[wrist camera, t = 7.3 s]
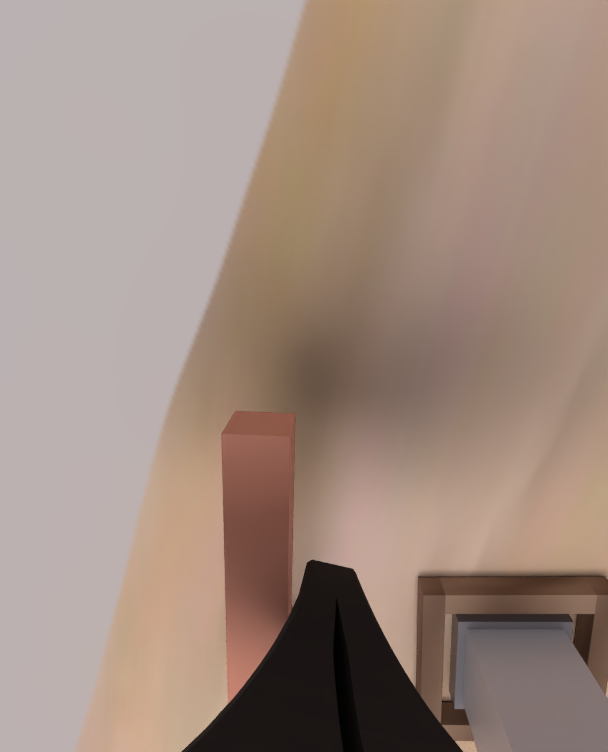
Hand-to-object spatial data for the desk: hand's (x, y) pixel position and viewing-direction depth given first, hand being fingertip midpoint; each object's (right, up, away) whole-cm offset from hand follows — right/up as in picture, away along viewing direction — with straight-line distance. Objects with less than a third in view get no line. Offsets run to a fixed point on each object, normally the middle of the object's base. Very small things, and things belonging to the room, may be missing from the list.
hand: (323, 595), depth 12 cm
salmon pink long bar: (-2, -3, +2) cm, 4 cm away
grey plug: (+10, -8, +11) cm, 16 cm away
